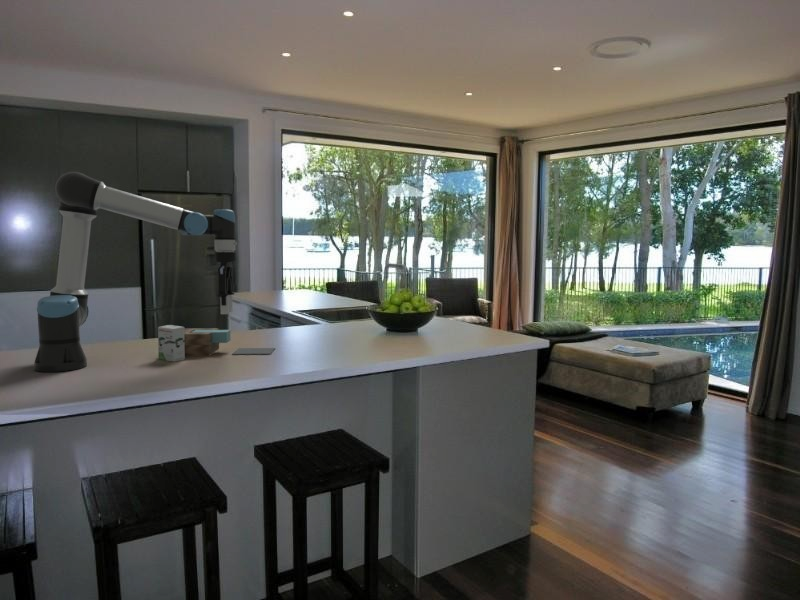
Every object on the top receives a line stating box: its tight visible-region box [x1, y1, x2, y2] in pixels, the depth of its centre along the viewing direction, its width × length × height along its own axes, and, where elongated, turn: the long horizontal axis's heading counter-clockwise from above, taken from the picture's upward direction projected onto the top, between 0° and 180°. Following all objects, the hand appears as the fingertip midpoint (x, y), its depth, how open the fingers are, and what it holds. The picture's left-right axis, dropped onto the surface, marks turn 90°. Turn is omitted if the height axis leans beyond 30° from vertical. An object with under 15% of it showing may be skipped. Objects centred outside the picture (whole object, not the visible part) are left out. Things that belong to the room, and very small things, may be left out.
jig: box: [184, 327, 220, 357], centre depth 226 cm, size 16×15×8 cm
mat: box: [231, 347, 276, 356], centre depth 228 cm, size 14×12×1 cm
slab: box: [191, 329, 231, 344], centre depth 227 cm, size 13×6×4 cm, turn 93°
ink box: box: [157, 324, 186, 362], centre depth 212 cm, size 9×5×12 cm, turn 60°
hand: (226, 312), depth 226 cm, fingers open, 6 cm apart
